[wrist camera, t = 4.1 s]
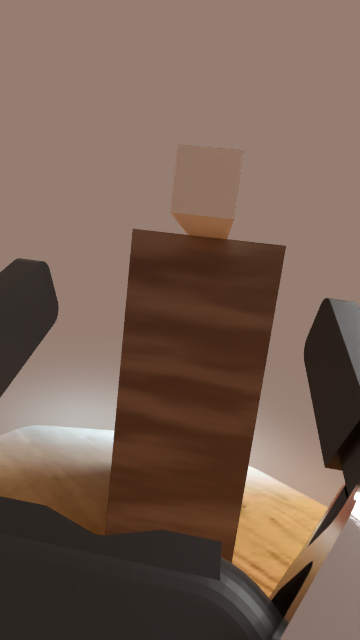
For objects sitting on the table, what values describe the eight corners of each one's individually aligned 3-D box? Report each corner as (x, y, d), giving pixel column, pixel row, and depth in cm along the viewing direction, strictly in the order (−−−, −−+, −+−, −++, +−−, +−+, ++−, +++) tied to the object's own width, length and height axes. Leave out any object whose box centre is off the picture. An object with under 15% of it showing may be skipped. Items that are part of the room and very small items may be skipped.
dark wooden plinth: (226, 594, 30) (285, 245, 24) (102, 568, 31) (132, 228, 25) (222, 481, 45) (258, 255, 40) (140, 466, 46) (164, 244, 41)
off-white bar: (234, 219, 15) (243, 150, 14) (170, 212, 15) (178, 144, 14) (222, 251, 40) (226, 226, 40) (199, 248, 40) (202, 224, 40)
